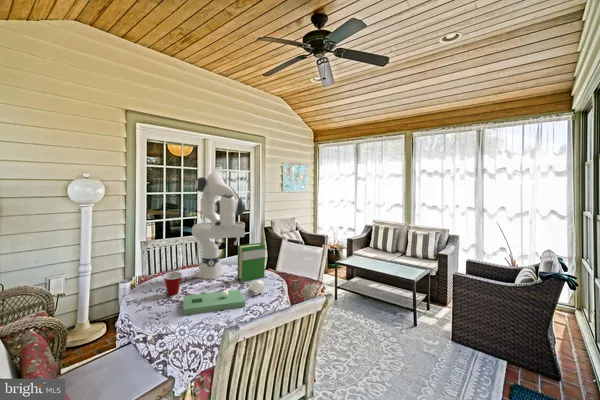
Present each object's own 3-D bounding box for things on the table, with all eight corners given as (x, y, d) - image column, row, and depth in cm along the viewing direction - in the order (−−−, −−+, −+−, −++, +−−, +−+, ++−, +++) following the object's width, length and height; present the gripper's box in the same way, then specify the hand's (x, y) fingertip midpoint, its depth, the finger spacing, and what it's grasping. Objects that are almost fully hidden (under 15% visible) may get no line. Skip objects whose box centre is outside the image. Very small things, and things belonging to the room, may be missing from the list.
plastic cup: (160, 297, 169) (160, 277, 168) (165, 290, 180) (165, 272, 179) (180, 296, 171) (180, 277, 170) (184, 290, 182) (184, 271, 181)
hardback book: (242, 281, 199) (242, 247, 197) (237, 278, 205) (237, 245, 203) (264, 277, 210) (264, 244, 208) (259, 274, 216) (259, 242, 214)
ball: (220, 296, 166) (220, 289, 166) (227, 295, 168) (227, 288, 168) (221, 299, 163) (221, 292, 162) (228, 298, 164) (228, 291, 164)
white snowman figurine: (256, 282, 174) (245, 279, 183) (257, 296, 174) (246, 292, 183) (265, 280, 179) (254, 276, 187) (265, 293, 179) (254, 290, 187)
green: (183, 301, 166) (183, 296, 165) (239, 294, 178) (239, 289, 177) (183, 314, 149) (183, 309, 149) (245, 306, 161) (245, 301, 161)
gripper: (244, 220, 177) (244, 243, 178) (209, 221, 170) (209, 245, 170) (246, 222, 171) (246, 245, 172) (210, 223, 164) (210, 247, 164)
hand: (227, 245), depth 171 cm, fingers open, 8 cm apart
